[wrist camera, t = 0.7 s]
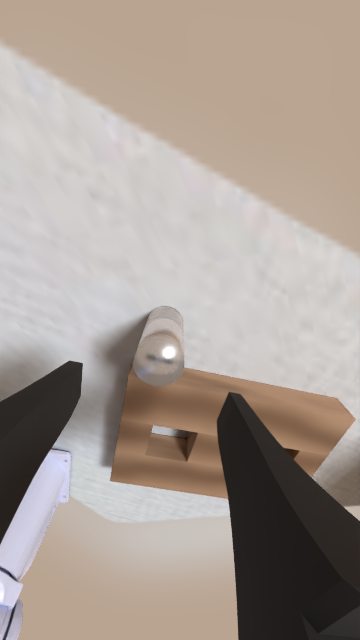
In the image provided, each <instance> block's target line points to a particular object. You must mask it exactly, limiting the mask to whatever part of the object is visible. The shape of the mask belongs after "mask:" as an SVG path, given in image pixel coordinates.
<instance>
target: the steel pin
mask: <svg viewBox="0 0 360 640" xmlns="http://www.w3.org/2000/svg"><path fill="white" fill-rule="evenodd" d="M133 368H134V371H135V373H136V375H137V376H138V377H139V378H140V379H141V380H142V381H144V382H145V383H148V384H150V385H154V386H165V385H169V384H172V383H174V382H175V381H177V380H178V379H179V378H180V377H181V375H182V373H183V371H184V324H183V318H182V316H181V314H180V313H179V312H178V311H177V310H176V309H174V308H172V307H168V306H162V307H158V308H156V309H154V310H153V311H152V312H151V313H150V315H149V317H148V320H147V323H146V325H145V328H144V331H143V334H142V337H141V340H140V342H139V345H138V348H137V351H136V354H135V357H134V360H133Z"/></svg>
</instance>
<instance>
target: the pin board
mask: <svg viewBox="0 0 360 640" xmlns="http://www.w3.org/2000/svg"><path fill="white" fill-rule="evenodd" d="M229 392H233V393H238V394H241V395H242V396H243V398H244V399H245V400H246V401H247V403H248V404H249V405H250V407H251V408H252V409H253V411H254V412H255V413H256V415H257V416H258V417H259V419H260V420H261V421H262V423H263V424H264V425H265V426H266V428H267V429H268V430H269V431H270V433H271V434H272V435H273V436H274V437H275V439H276V440H277V441H278V442H279V443H280V445H281V446H282V447H283V448H284V449H285V450H286V451H287V453H288V454H289V455H290V456H291V457H292V458H293V459H294V460H295V461H296V462H297V463H298V464H299V465H300V467H301V468H302V469H303V470H304V471H305V472H306V473H307V474H308V475H309V476H310V477H312V475H313V474H314V473H315V472H316V470H317V469H318V468H319V466H320V465H321V464H322V463H323V461H324V460H325V459H326V457H327V456H328V455H329V453H330V452H331V451H332V450H333V448H334V447H335V446H336V444H337V443H338V442H339V440H340V439H341V438H342V437H343V435H344V434H345V433H346V431H347V430H348V429H349V427H350V426H351V425H352V424H353V422H354V421H355V420H356V419H355V418H354V417H353V416H352V415H351V413H350V412H349V411H348V410H347V409H346V408H345V407H344V406H343V404H342V403H341V402H340V401H339V400H338V399H337V398H333V397H328V396H323V395H318V394H313V393H308V392H303V391H298V390H293V389H288V388H283V387H278V386H273V385H268V384H263V383H258V382H253V381H248V380H243V379H238V378H233V377H228V376H223V375H218V374H213V373H208V372H203V371H198V370H193V369H188V368H184V371H183V373H182V375H181V377H180V378H179V379H178V380H177V381H175V382H174V383H172V384H169V385H165V386H154V385H150V384H148V383H145V382H144V381H142V380H141V379H140V378H139V377H138V376H137V375H136V373H135V371H134V368H133V364H132V367H131V370H130V372H129V375H128V381H127V387H126V392H125V398H124V404H123V409H122V415H121V421H120V426H119V432H118V438H117V444H116V449H115V455H114V461H113V466H112V472H111V478H110V481H113V482H120V483H126V484H133V485H140V486H146V487H153V488H160V489H166V490H173V491H180V492H186V493H193V494H200V495H206V496H213V497H220V498H226V499H228V494H227V488H226V483H225V478H224V472H223V467H222V462H221V456H220V451H219V445H218V436H217V419H218V416H219V414H220V412H221V409H222V407H223V404H224V402H225V400H226V397H227V395H228V393H229ZM153 425H157V426H162V427H168V428H174V429H179V430H185V431H189V434H188V437H187V439H182V438H177V437H171V436H165V435H159V434H153V433H151V431H152V427H153Z"/></svg>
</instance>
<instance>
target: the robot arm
mask: <svg viewBox="0 0 360 640" xmlns="http://www.w3.org/2000/svg"><path fill="white" fill-rule="evenodd" d="M82 367H83V363H79V362H74V361H68V362H67V363H65V364H63V365H62V366H60V367H59V368H57V369H55V370H54V371H52V372H51V373H49V374H48V375H46V376H44V377H43V378H41V379H39V380H38V381H36V382H34V383H33V384H31V385H30V386H28V387H26V388H24V389H23V390H21V391H19V392H17V393H16V394H14V395H12V396H10V397H8V398H7V399H5V400H3V401H1V402H0V640H18V637H19V634H20V630H21V626H22V620H23V619H22V618H23V613H22V607H23V604H22V601H21V600H20V599H17V598H18V596H19V594H20V591H21V589H22V587H23V584H22V583H19V581H20V580H21V578H22V577H23V576H24V575H25V573H26V572H27V571H28V569H29V567H30V565H31V564H32V562H33V560H34V558H35V555H36V553H37V551H38V549H39V546H40V544H41V542H42V539H43V537H44V535H45V533H46V530H47V528H48V526H49V523H50V521H51V519H52V517H53V514H54V512H55V510H56V508H57V505H58V503H59V502H60V503H66V502H67V501H68V499H69V485H70V467H71V454H70V453H69V452H65V451H58V450H52V449H51V448H52V446H53V445H54V443H55V442H56V440H57V438H58V437H59V435H60V434H61V432H62V430H63V429H64V427H65V425H66V424H67V422H68V421H69V419H70V417H71V415H72V413H73V411H74V409H75V407H76V405H77V403H78V400H79V398H80V396H81V381H82ZM217 436H218V445H219V451H220V456H221V462H222V467H223V472H224V478H225V483H226V488H227V494H228V500H229V508H230V517H231V527H232V538H233V550H234V563H235V577H236V595H237V615H238V638H239V640H360V521H359V520H358V519H356V518H355V517H354V516H353V515H352V514H350V513H349V512H348V511H347V510H346V509H345V508H344V507H343V506H341V505H340V504H339V503H338V502H337V501H336V500H335V499H334V498H332V497H331V496H330V495H329V494H328V493H327V492H326V491H325V490H324V489H323V488H322V487H321V486H319V485H318V484H317V483H316V482H315V481H314V480H313V479H312V478H311V477H310V476H309V475H308V474H307V473H306V472H305V471H304V470H303V469H302V468H301V467H300V465H299V464H298V463H297V462H296V461H295V460H294V459H293V458H292V457H291V456H290V455H289V454H288V453H287V451H286V450H285V449H284V448H283V447H282V446H281V445H280V443H279V442H278V441H277V440H276V439H275V437H274V436H273V435H272V434H271V433H270V431H269V430H268V429H267V428H266V426H265V425H264V424H263V423H262V421H261V420H260V419H259V417H258V416H257V415H256V413H255V412H254V411H253V409H252V408H251V407H250V405H249V404H248V403H247V401H246V400H245V399H244V398H243V396H242V395H241V394H238V393H233V392H229V393H228V395H227V397H226V400H225V402H224V404H223V407H222V409H221V412H220V414H219V416H218V419H217Z"/></svg>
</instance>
